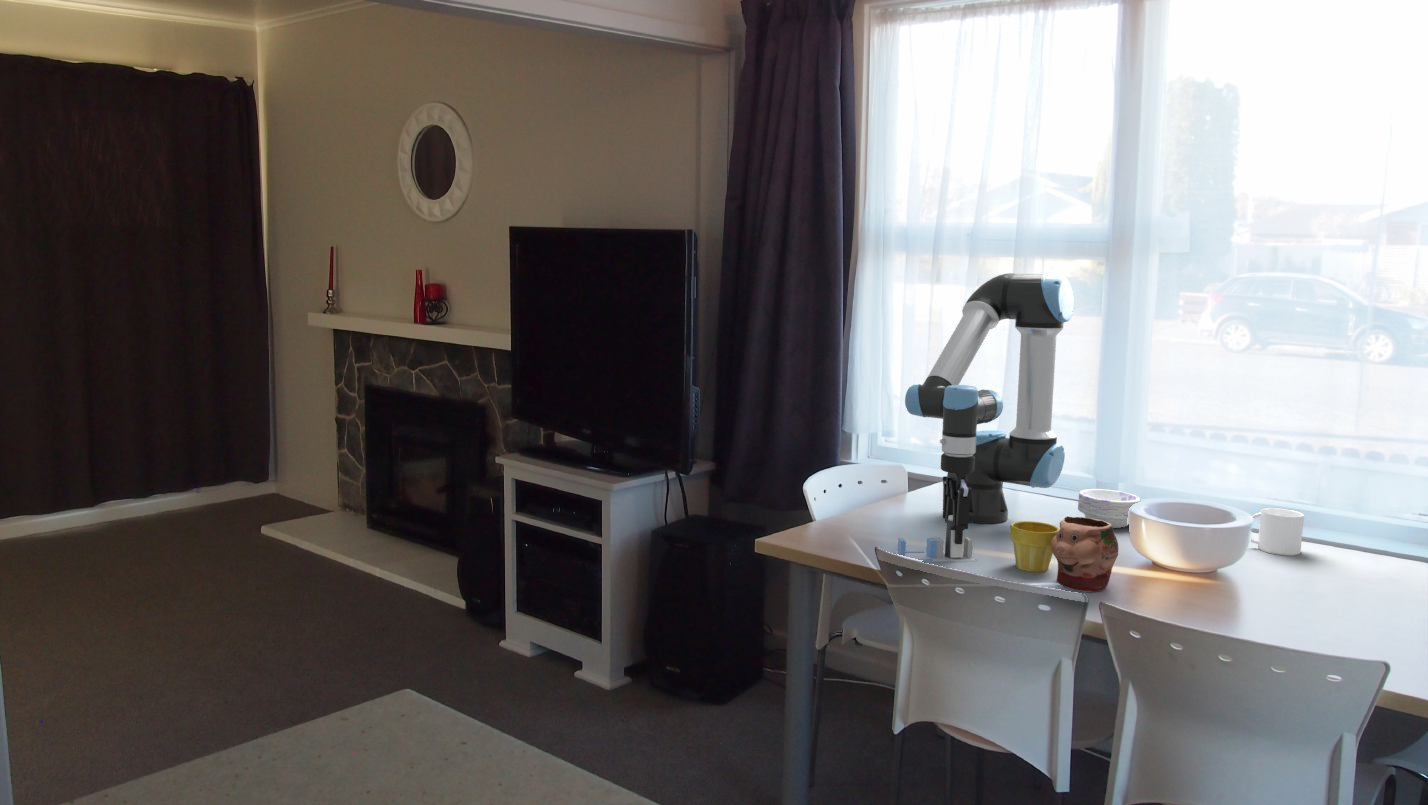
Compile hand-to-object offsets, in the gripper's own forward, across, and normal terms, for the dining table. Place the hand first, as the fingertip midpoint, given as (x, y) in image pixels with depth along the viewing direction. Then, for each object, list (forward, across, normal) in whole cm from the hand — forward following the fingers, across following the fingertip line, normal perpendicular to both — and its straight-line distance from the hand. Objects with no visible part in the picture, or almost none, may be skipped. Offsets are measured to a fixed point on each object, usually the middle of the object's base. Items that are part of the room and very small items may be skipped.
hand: (953, 554), depth 233 cm
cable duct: (+1, 0, -4) cm, 4 cm away
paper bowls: (+1, -30, +51) cm, 59 cm away
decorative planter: (+1, +20, +22) cm, 30 cm away
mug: (+1, -5, +80) cm, 80 cm away
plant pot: (+1, +9, +15) cm, 18 cm away
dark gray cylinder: (0, 0, 0) cm, 0 cm away
